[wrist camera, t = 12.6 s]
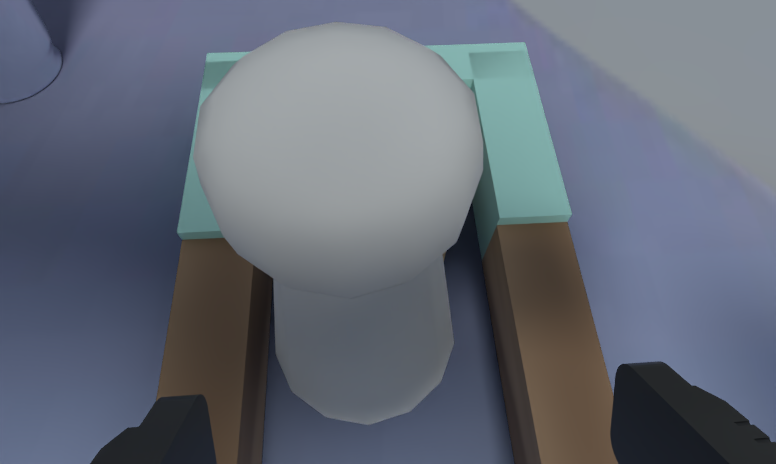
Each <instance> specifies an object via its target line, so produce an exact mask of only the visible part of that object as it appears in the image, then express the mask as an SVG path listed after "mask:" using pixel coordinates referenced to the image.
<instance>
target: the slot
mask: <svg viewBox="0 0 776 464" xmlns="http://www.w3.org/2000/svg"><path fill="white" fill-rule="evenodd" d="M482 266H483V272H484V278H485V284H486V290H487V296H488V303H489V309H490V315H491V321H492V327H493V333H494V339H495V346H496V352H497V358H498V364H499V370H500V376H501V382H502V389H503V395H504V401H505V407H506V413H507V419H508V426H509V432H510V438H511V444H512V450H513V456H514V462H515V464H618V462H617V460H616V457H615V455H614V452H613V449H612V444H611V438H610V428H611V418H612V407H613V397H614V396H613V392H612V388H611V385H610V381H609V377H608V373H607V370H606V366H605V362H604V358H603V354H602V351H601V347H600V343H599V339H598V336H597V332H596V328H595V324H594V321H593V317H592V313H591V309H590V306H589V302H588V298H587V294H586V291H585V287H584V283H583V279H582V275H581V272H580V268H579V264H578V260H577V257H576V253H575V249H574V245H573V242H572V238H571V234H570V230H569V227H568V223H567V222H552V223H530V224H509V225H497V226H496V228H495V231H494V233H493V235H492V238H491V240H490V243H489V245H488V247H487V250H486V252H485V254H484V257H483V259H482ZM272 283H273V278H272V277H270V276H269V275H267V274H266V273H264V272H263V271H262V270H260V269H259V268H257V267H256V266H254V265H253V264H251V263H250V262H248V261H247V260H245V259H244V258H243V257H241V256H240V255H238V254H237V253H236V251H235V250H234V249H233V248H232V246H231V245H230V244H229V243H228V242H227V240H226V239H225V238H208V239H187V240H182V244H181V250H180V257H179V263H178V269H177V275H176V281H175V287H174V294H173V300H172V306H171V312H170V318H169V324H168V331H167V337H166V343H165V349H164V355H163V361H162V368H161V374H160V380H159V386H158V392H157V398H156V401H157V400H158V399H159V398H161V397H170V396H184V395H199V394H202V395H204V397H205V399H206V401H207V405H208V411H209V417H210V423H211V430H212V436H213V442H214V448H215V454H216V461H217V464H262V449H263V432H264V416H265V399H266V383H267V366H268V350H269V333H270V316H271V300H272Z"/></svg>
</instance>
